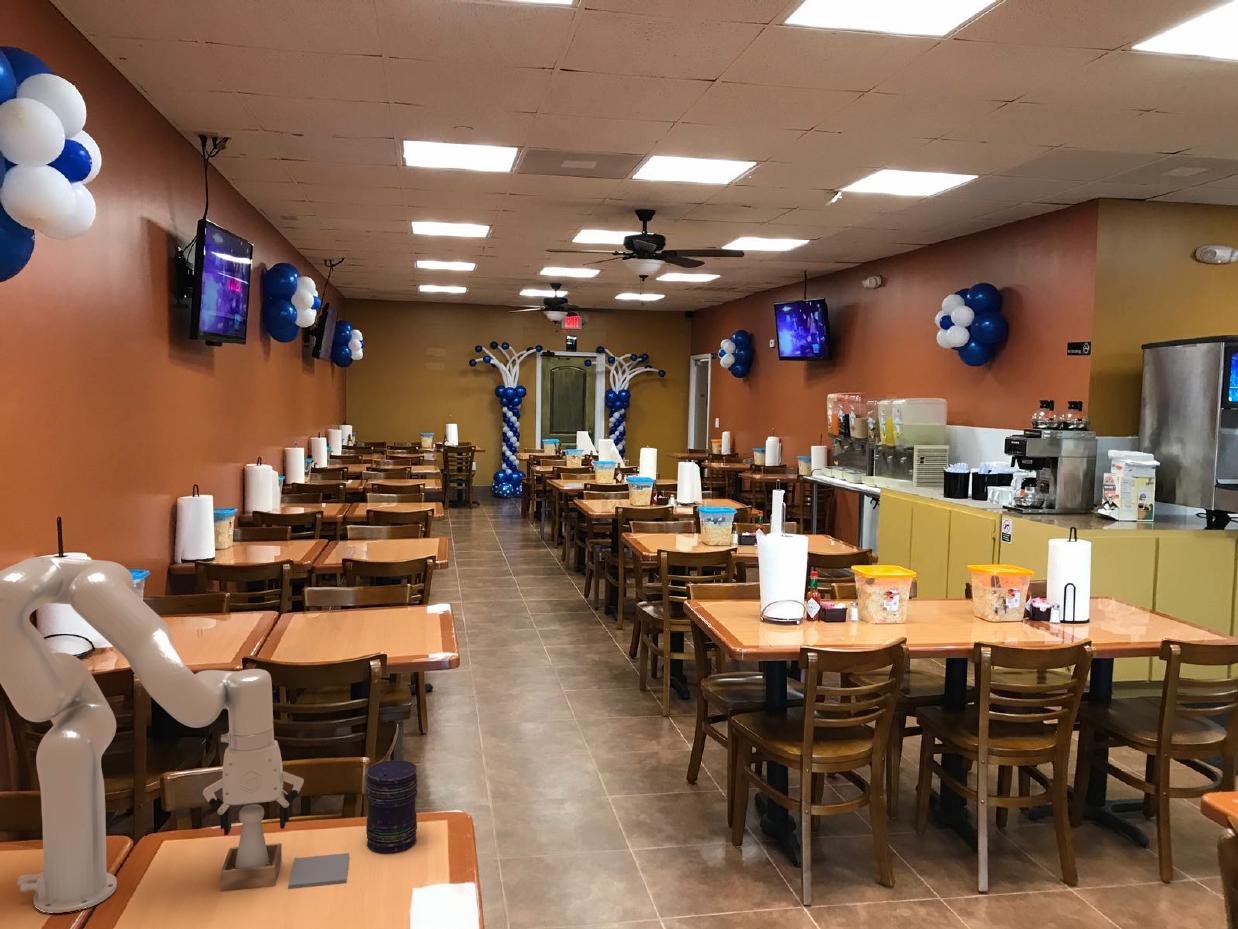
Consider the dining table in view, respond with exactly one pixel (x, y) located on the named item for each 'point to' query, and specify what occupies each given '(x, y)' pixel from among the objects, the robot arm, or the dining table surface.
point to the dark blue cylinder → (391, 806)
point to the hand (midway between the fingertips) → (255, 828)
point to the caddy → (250, 871)
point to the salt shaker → (251, 839)
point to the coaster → (319, 870)
